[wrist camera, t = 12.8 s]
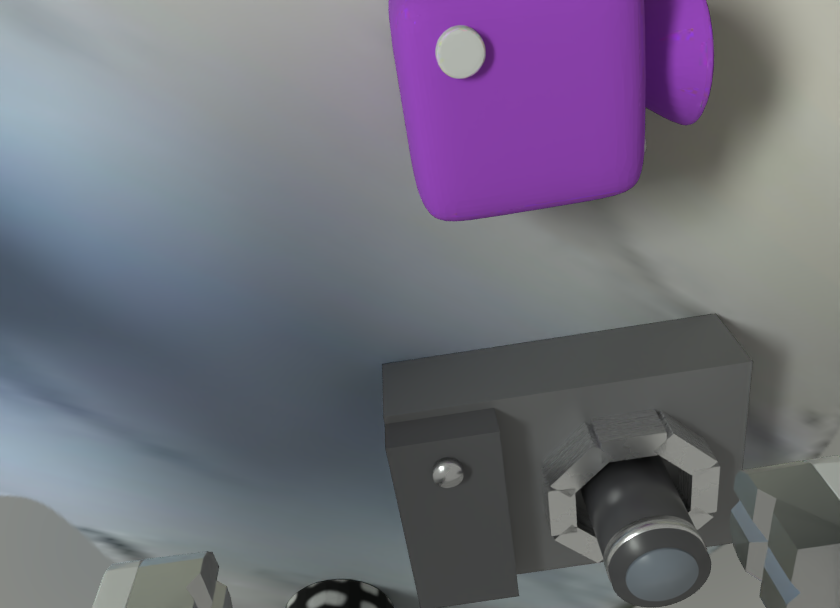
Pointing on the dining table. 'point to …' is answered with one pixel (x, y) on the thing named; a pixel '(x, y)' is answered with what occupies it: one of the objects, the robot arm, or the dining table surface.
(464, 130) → the toy camera
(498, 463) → the camera body
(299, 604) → the spotted tube
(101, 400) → the dining table surface
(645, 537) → the lens
